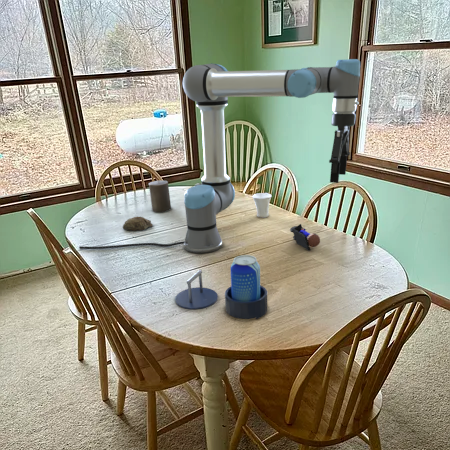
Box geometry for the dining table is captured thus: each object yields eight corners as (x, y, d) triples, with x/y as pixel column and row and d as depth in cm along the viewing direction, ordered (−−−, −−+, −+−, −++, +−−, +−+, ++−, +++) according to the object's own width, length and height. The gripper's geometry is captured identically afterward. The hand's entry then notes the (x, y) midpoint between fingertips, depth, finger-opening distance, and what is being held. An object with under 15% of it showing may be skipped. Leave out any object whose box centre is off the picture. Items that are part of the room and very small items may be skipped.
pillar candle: (169, 212, 221) (166, 182, 214) (150, 212, 222) (146, 183, 214) (172, 206, 230) (169, 177, 223) (153, 207, 230) (149, 178, 223)
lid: (167, 306, 136) (164, 281, 132) (188, 287, 147) (186, 263, 143) (205, 314, 131) (203, 288, 127) (224, 294, 142) (223, 269, 137)
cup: (275, 214, 210) (275, 193, 205) (266, 219, 203) (265, 198, 198) (258, 211, 214) (258, 191, 210) (249, 217, 208) (248, 196, 203)
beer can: (228, 313, 130) (225, 263, 123) (238, 300, 137) (236, 252, 129) (255, 317, 127) (254, 267, 120) (264, 304, 134) (263, 255, 126)
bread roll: (119, 230, 201) (117, 219, 199) (133, 221, 211) (132, 211, 209) (144, 232, 197) (142, 221, 194) (157, 223, 207) (156, 213, 204)
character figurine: (301, 238, 181) (321, 251, 169) (286, 240, 179) (304, 253, 166) (303, 220, 178) (323, 232, 165) (287, 222, 175) (307, 234, 163)
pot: (218, 316, 130) (217, 298, 127) (236, 297, 140) (235, 280, 137) (258, 323, 125) (258, 305, 122) (273, 303, 135) (273, 286, 132)
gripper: (349, 116, 133) (342, 187, 143) (361, 109, 154) (354, 171, 163) (324, 116, 136) (319, 185, 146) (339, 109, 156) (334, 170, 166)
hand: (337, 178), depth 155 cm, fingers open, 13 cm apart
